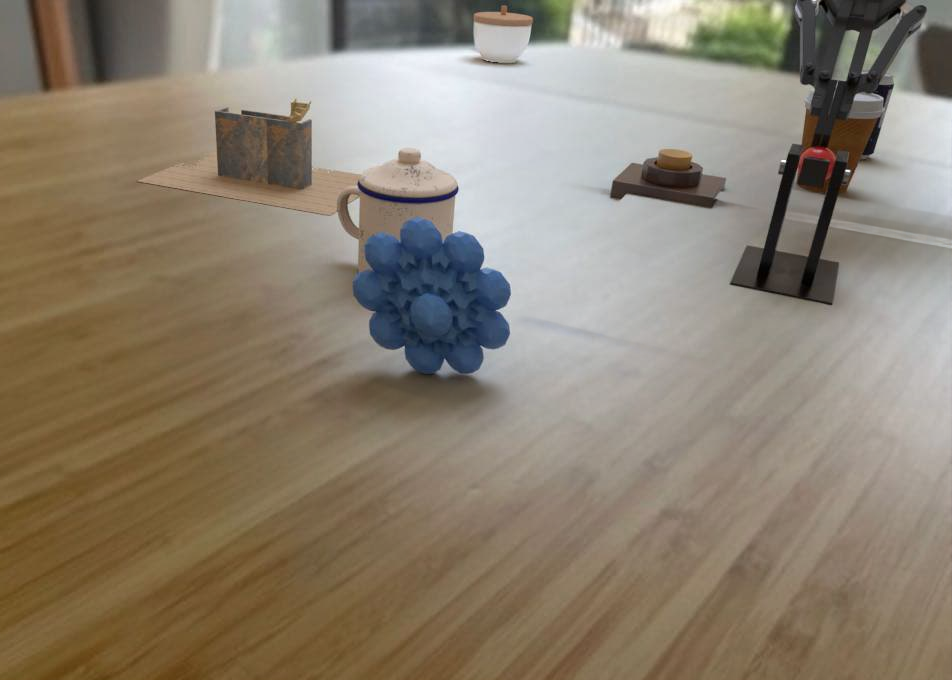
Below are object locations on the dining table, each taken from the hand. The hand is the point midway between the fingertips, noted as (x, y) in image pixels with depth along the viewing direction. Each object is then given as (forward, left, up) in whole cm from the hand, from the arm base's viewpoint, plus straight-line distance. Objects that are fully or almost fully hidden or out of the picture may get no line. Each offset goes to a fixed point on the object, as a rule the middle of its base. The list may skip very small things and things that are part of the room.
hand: (820, 142), depth 92 cm
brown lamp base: (+16, -11, -11) cm, 22 cm away
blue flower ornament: (+22, +48, -12) cm, 54 cm away
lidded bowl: (+69, -93, -12) cm, 116 cm away
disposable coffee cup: (-1, -28, -12) cm, 31 cm away
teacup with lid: (+34, +30, -12) cm, 46 cm away
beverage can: (-4, -50, -12) cm, 52 cm away
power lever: (0, +6, -3) cm, 7 cm away
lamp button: (+16, -11, -8) cm, 21 cm away
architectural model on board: (+60, +12, -12) cm, 62 cm away
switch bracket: (0, +12, -11) cm, 16 cm away
